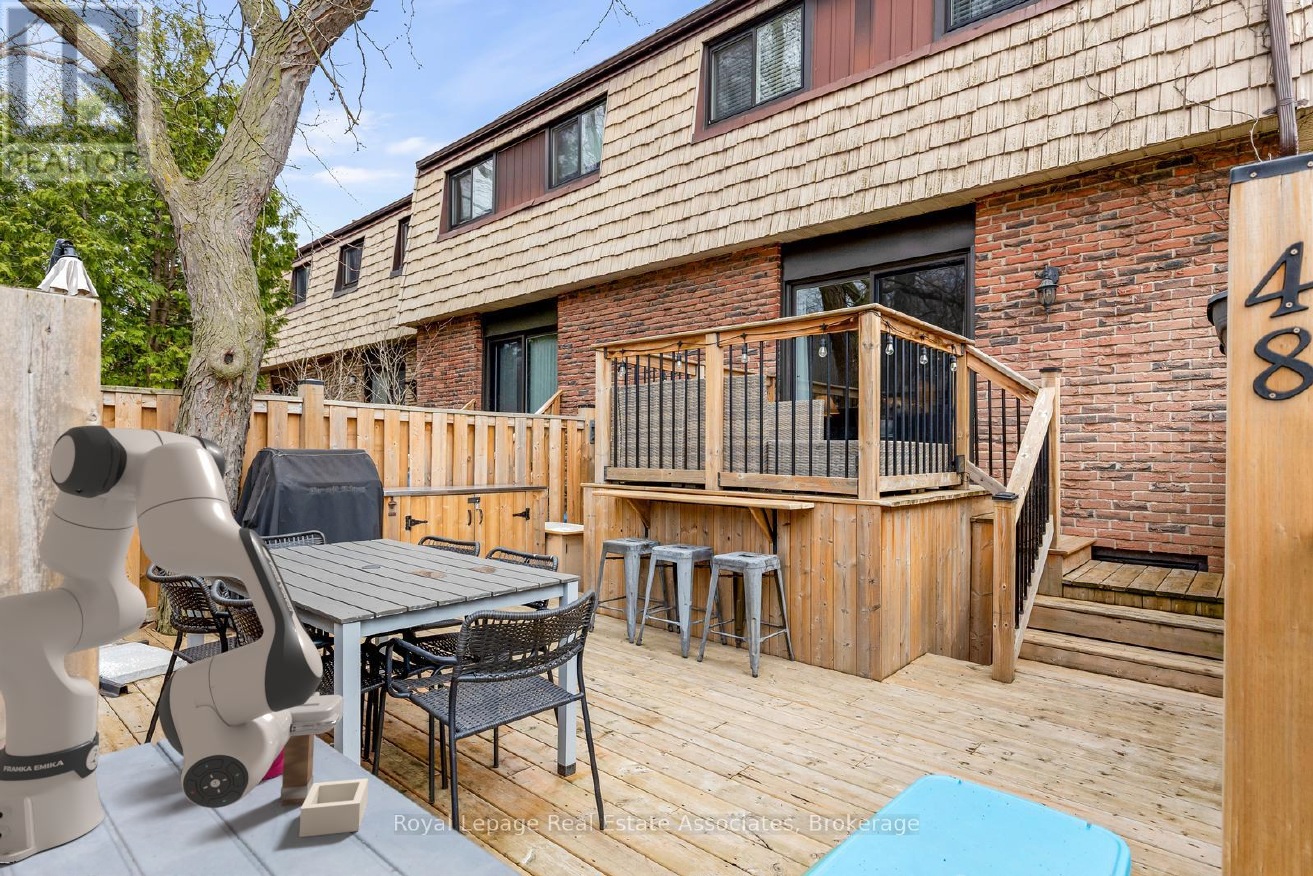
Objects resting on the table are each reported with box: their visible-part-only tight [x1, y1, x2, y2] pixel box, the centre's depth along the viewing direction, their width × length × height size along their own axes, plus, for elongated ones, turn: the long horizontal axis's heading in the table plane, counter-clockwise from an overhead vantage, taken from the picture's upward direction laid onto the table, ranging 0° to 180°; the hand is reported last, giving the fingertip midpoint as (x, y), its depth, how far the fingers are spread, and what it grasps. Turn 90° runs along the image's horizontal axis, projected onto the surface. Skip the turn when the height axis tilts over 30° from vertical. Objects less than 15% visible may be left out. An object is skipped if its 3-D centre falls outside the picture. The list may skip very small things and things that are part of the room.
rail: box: [280, 734, 315, 806], centre depth 122 cm, size 4×4×14 cm
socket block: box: [299, 777, 369, 838], centre depth 115 cm, size 9×9×4 cm
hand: (283, 698), depth 111 cm, fingers open, 8 cm apart
